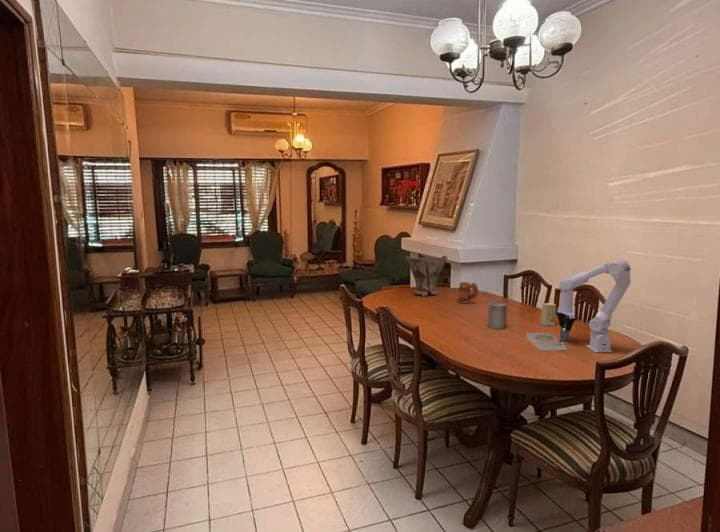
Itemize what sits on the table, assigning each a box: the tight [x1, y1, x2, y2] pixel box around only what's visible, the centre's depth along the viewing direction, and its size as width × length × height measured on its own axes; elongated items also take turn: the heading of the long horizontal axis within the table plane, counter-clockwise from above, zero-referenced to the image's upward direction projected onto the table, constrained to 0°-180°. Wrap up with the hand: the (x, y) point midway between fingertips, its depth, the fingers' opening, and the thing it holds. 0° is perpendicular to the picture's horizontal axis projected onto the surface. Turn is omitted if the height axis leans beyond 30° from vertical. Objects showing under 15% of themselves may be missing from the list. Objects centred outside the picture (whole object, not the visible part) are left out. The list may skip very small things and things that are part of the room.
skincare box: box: [540, 302, 557, 327], centre depth 258 cm, size 6×4×12 cm
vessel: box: [405, 255, 448, 297], centre depth 341 cm, size 30×27×30 cm
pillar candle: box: [488, 301, 508, 330], centre depth 255 cm, size 10×10×15 cm
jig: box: [526, 332, 567, 352], centre depth 226 cm, size 20×12×2 cm, turn 178°
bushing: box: [559, 326, 571, 343], centre depth 229 cm, size 4×4×7 cm
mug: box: [458, 281, 479, 304], centre depth 312 cm, size 15×8×15 cm, turn 42°
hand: (564, 328), depth 229 cm, fingers open, 7 cm apart
